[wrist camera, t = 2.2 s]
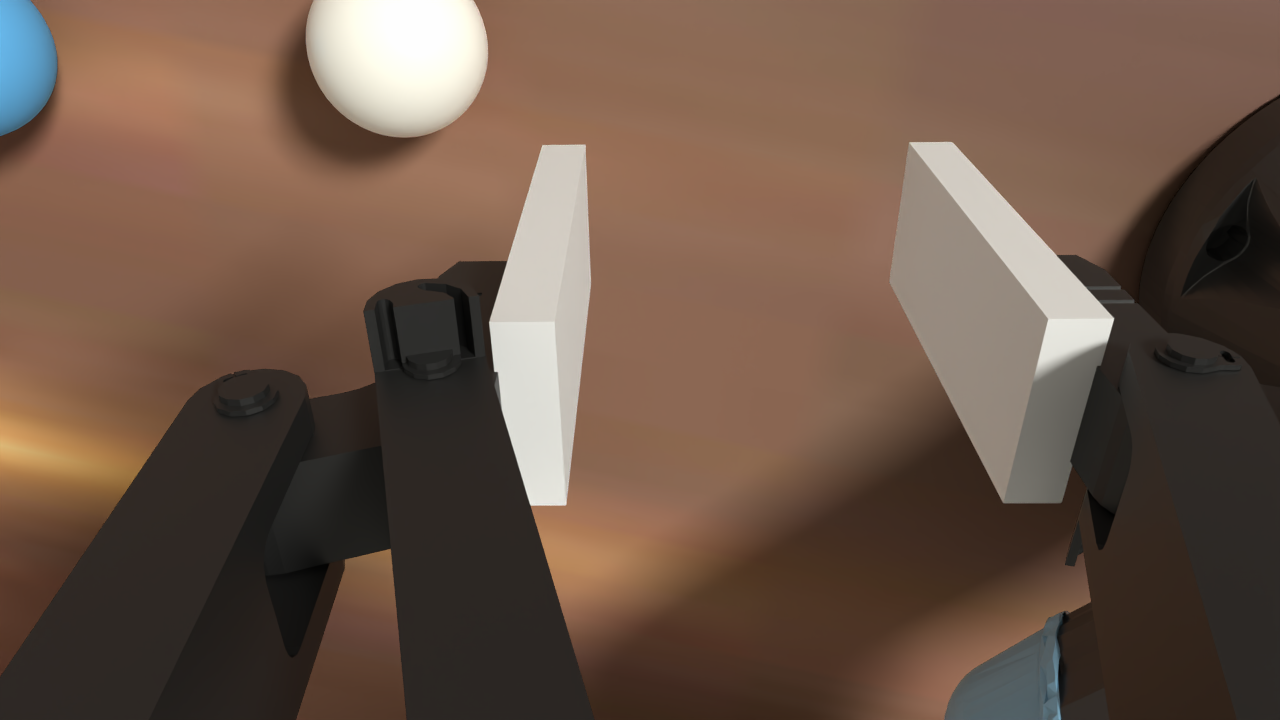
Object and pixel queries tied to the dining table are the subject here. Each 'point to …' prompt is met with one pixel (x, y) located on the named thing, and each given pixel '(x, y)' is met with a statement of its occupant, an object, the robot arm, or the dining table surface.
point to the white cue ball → (398, 61)
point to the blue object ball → (24, 64)
